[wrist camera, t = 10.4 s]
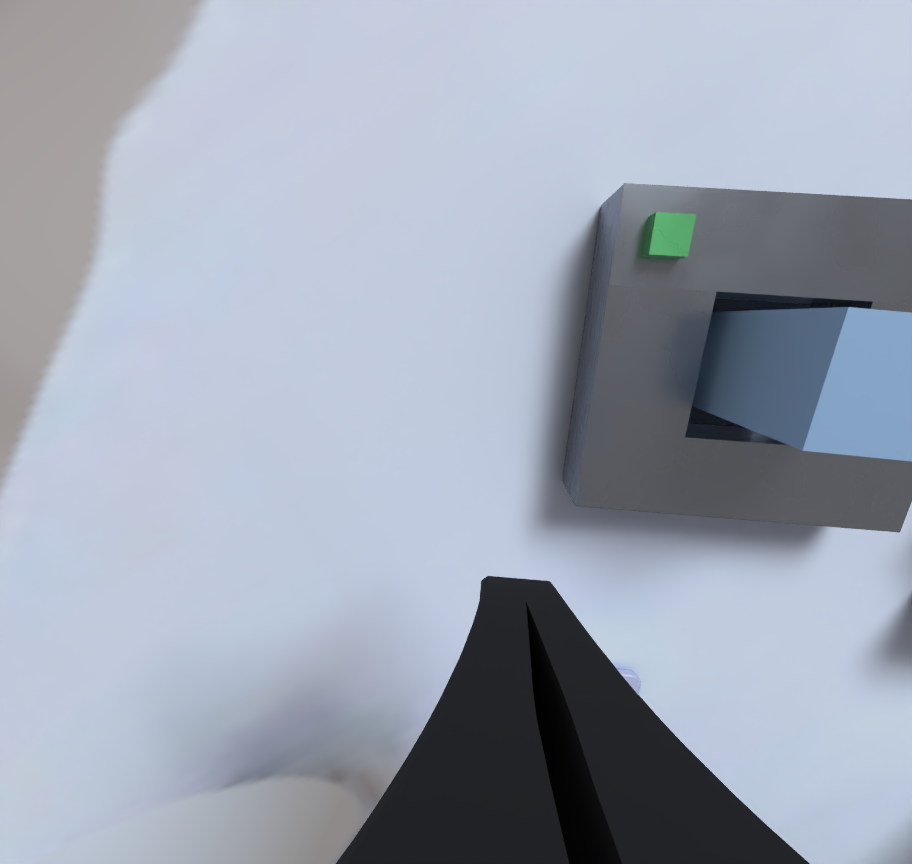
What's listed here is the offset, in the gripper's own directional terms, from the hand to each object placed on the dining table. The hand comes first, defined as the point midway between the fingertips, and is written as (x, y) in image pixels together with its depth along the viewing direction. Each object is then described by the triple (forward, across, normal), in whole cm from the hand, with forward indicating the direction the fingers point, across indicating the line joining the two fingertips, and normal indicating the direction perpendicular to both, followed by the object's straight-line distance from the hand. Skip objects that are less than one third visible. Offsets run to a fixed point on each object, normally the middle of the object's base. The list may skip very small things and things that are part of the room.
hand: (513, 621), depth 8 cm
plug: (+10, -9, -5) cm, 15 cm away
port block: (+10, -9, -4) cm, 15 cm away
